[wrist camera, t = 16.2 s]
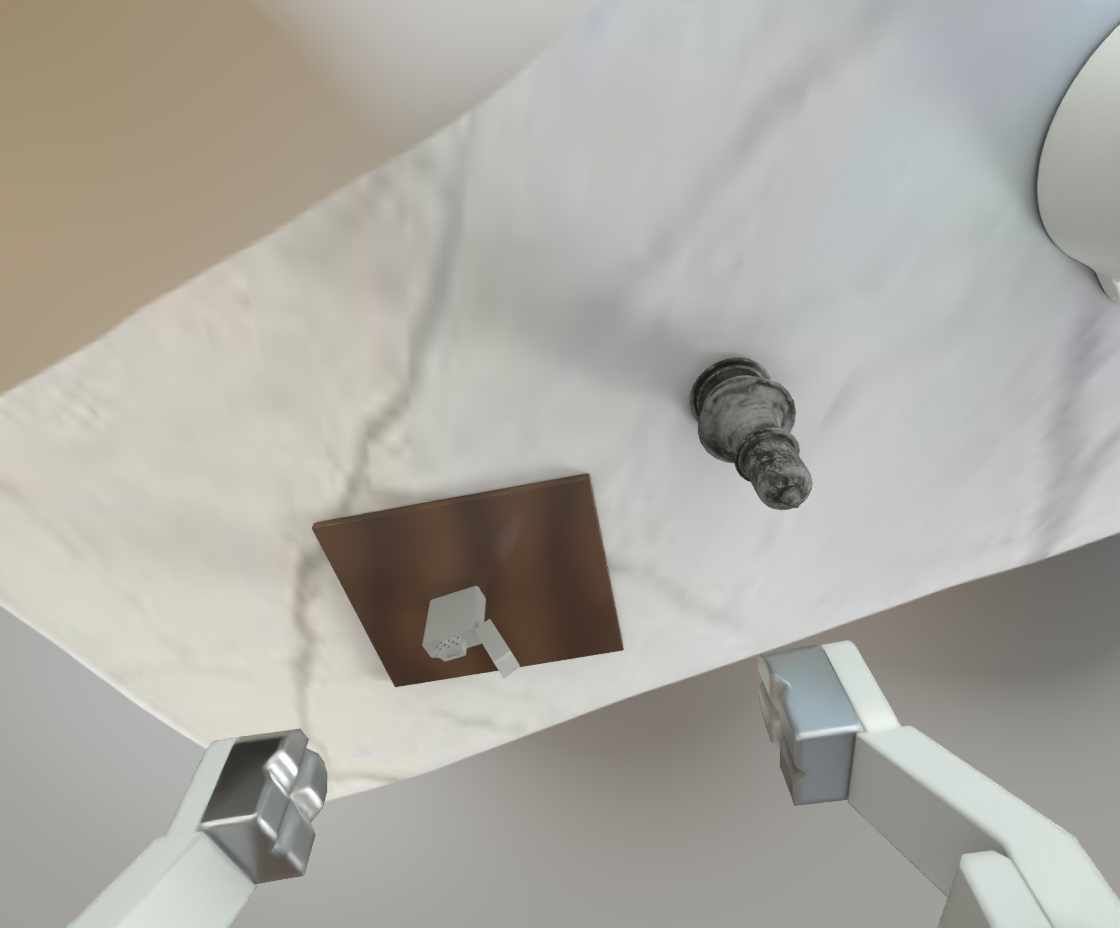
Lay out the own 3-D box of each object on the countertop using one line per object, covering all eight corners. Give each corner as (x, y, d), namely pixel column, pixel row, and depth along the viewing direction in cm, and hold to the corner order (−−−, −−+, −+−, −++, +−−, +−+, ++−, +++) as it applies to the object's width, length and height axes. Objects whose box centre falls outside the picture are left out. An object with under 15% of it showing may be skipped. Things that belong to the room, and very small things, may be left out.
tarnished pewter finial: (759, 337, 39) (841, 436, 28) (787, 411, 41) (870, 524, 31) (671, 379, 40) (720, 488, 30) (704, 448, 43) (758, 568, 33)
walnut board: (588, 473, 43) (589, 478, 43) (622, 645, 53) (623, 650, 53) (313, 522, 45) (311, 528, 44) (396, 681, 55) (394, 687, 54)
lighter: (438, 614, 49) (425, 702, 43) (428, 600, 49) (413, 687, 42) (522, 589, 48) (521, 674, 42) (513, 574, 47) (511, 658, 41)
